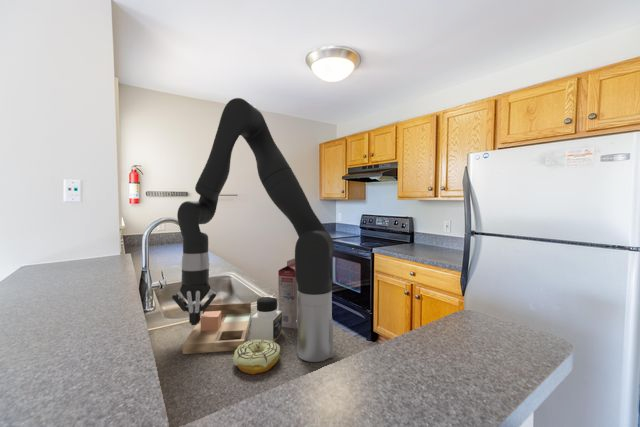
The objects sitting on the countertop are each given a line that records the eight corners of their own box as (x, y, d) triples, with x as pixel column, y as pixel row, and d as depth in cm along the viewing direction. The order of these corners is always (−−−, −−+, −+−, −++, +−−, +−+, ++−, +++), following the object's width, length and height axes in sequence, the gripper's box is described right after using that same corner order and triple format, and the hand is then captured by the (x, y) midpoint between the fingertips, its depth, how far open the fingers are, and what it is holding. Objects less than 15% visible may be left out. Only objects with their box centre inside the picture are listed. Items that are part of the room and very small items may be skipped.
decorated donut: (225, 374, 66) (225, 357, 66) (244, 350, 77) (244, 335, 77) (272, 378, 64) (272, 360, 64) (284, 352, 76) (284, 337, 76)
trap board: (250, 319, 99) (250, 302, 99) (244, 349, 77) (244, 328, 77) (203, 321, 96) (203, 304, 96) (182, 354, 75) (182, 331, 74)
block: (221, 323, 89) (221, 310, 89) (218, 329, 84) (218, 316, 84) (204, 324, 88) (204, 311, 88) (200, 330, 83) (200, 317, 83)
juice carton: (278, 326, 93) (278, 260, 93) (286, 318, 99) (287, 257, 99) (296, 328, 91) (296, 261, 91) (304, 321, 97) (304, 258, 97)
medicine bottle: (273, 343, 81) (273, 302, 81) (250, 341, 82) (250, 300, 82) (281, 333, 88) (282, 295, 88) (260, 331, 89) (260, 293, 89)
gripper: (167, 270, 79) (166, 330, 80) (215, 269, 82) (215, 328, 82) (176, 265, 87) (175, 320, 87) (220, 264, 89) (220, 318, 89)
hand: (194, 324), depth 84 cm, fingers closed
